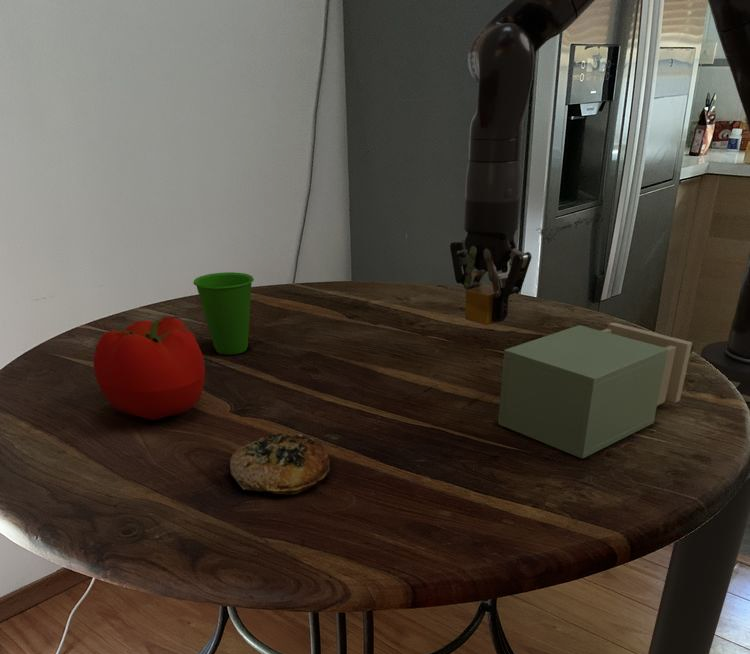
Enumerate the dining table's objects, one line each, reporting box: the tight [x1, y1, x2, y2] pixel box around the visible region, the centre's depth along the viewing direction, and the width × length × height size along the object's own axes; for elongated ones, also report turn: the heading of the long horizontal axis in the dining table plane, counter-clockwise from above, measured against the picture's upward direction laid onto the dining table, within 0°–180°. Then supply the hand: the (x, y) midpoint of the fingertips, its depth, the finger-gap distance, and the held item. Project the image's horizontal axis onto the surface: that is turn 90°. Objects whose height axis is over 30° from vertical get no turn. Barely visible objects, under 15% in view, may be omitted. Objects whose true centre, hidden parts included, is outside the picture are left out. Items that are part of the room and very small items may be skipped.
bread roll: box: [229, 433, 331, 496], centre depth 80 cm, size 11×11×5 cm
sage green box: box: [497, 324, 668, 459], centre depth 89 cm, size 15×13×10 cm
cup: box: [193, 271, 255, 355], centre depth 114 cm, size 9×9×11 cm
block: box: [464, 284, 508, 326], centre depth 109 cm, size 4×4×4 cm
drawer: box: [600, 321, 694, 407], centre depth 95 cm, size 20×11×8 cm, turn 130°
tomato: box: [92, 316, 206, 422], centre depth 93 cm, size 13×14×12 cm
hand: (485, 316), depth 110 cm, fingers closed on block, 4 cm apart
